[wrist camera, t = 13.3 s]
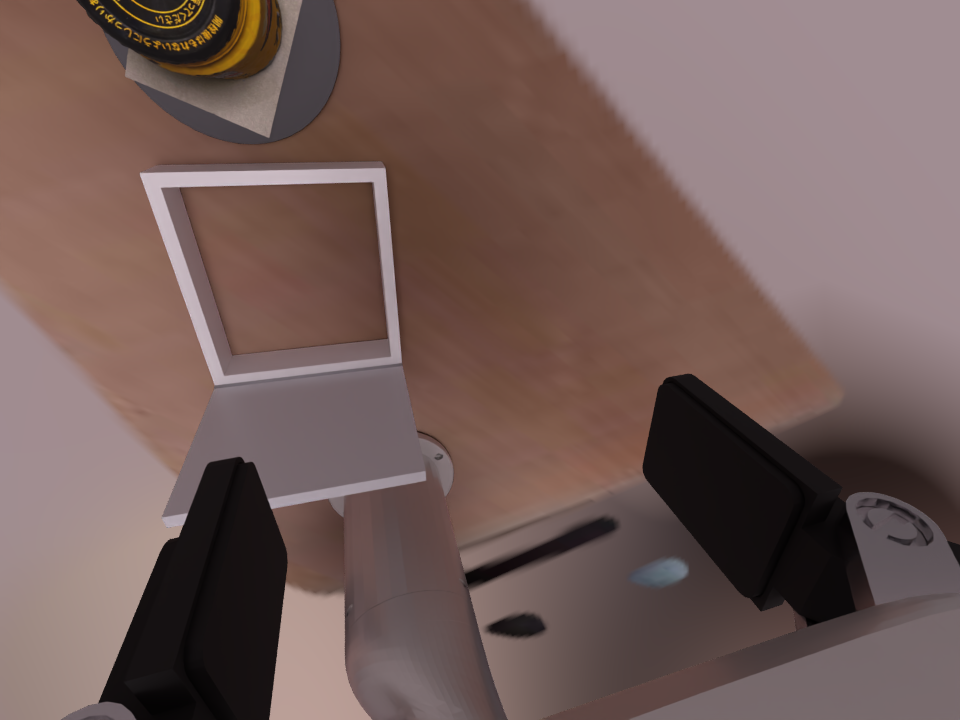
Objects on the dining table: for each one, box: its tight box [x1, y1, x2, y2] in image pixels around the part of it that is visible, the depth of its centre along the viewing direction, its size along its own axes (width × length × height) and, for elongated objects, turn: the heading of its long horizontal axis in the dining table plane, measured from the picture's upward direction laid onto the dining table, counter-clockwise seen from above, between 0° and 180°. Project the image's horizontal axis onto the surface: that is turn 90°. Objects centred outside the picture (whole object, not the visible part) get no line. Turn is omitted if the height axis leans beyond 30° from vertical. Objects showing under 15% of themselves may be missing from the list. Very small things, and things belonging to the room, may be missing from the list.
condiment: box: [77, 0, 302, 138], centre depth 20 cm, size 7×8×12 cm
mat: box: [103, 0, 340, 144], centre depth 25 cm, size 12×12×1 cm
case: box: [140, 161, 426, 528], centre depth 27 cm, size 16×14×15 cm
